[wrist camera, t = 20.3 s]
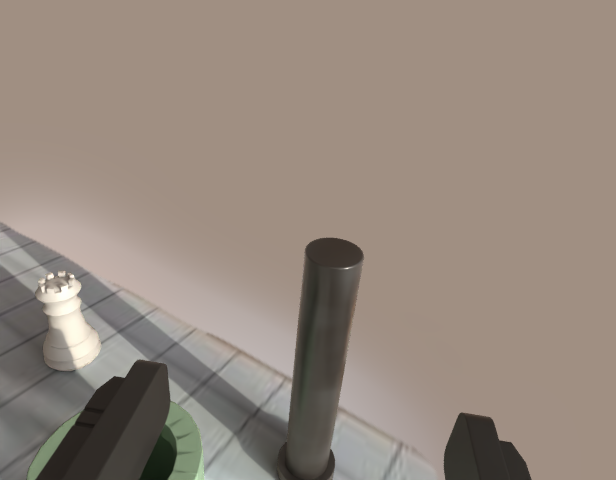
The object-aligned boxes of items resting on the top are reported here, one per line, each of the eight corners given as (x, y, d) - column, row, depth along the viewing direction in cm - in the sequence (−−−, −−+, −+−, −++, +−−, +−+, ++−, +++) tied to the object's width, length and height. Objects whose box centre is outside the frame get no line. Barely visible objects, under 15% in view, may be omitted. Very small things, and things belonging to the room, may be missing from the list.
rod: (268, 484, 30) (284, 262, 21) (288, 436, 33) (308, 226, 24) (325, 505, 29) (366, 281, 20) (339, 453, 32) (379, 242, 24)
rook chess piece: (92, 330, 41) (77, 258, 37) (109, 359, 38) (95, 284, 34) (38, 350, 39) (16, 275, 35) (53, 382, 36) (30, 304, 32)
